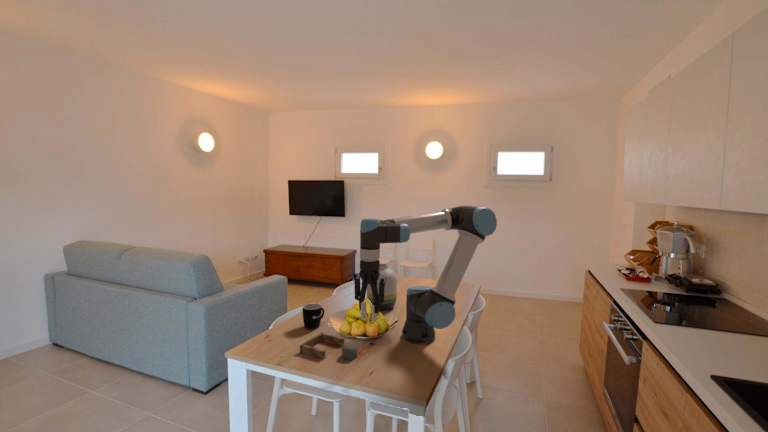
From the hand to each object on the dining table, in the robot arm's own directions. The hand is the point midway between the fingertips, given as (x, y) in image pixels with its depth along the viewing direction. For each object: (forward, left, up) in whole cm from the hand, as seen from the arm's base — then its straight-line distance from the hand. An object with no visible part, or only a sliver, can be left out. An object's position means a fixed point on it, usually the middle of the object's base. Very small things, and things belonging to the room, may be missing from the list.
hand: (368, 319), depth 137 cm
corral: (+22, 0, -17) cm, 27 cm away
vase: (+25, -59, -17) cm, 66 cm away
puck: (+8, 0, -17) cm, 19 cm away
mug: (+40, -18, -17) cm, 47 cm away
